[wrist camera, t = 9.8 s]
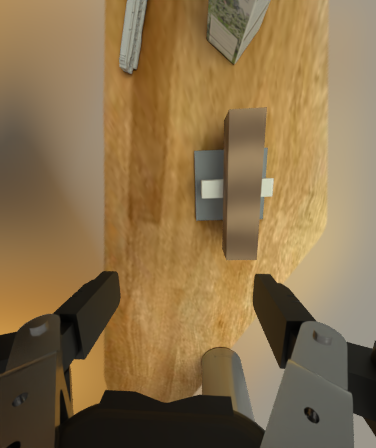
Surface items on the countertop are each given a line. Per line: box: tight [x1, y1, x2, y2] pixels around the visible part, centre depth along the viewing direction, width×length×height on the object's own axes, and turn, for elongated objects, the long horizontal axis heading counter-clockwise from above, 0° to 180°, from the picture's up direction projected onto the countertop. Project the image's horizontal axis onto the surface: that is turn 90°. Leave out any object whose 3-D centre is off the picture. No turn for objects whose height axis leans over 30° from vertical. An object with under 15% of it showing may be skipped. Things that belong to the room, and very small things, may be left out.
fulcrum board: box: [194, 148, 274, 221], centre depth 29 cm, size 12×12×7 cm
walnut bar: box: [222, 107, 267, 260], centre depth 24 cm, size 18×4×4 cm, turn 2°
